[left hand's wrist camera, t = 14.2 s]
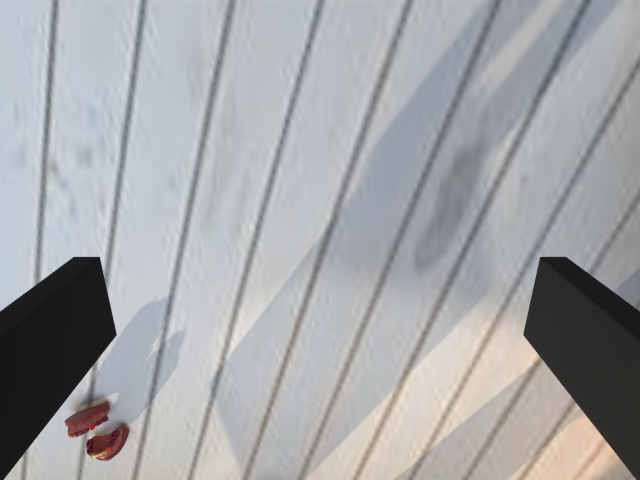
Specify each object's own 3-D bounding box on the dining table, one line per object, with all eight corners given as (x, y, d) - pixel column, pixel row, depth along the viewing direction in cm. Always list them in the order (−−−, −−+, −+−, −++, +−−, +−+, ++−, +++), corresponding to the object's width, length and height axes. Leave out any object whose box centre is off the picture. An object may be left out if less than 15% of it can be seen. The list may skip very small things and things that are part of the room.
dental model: (87, 473, 55) (50, 431, 53) (101, 447, 59) (68, 407, 56) (123, 459, 55) (88, 416, 52) (135, 434, 59) (103, 393, 56)
